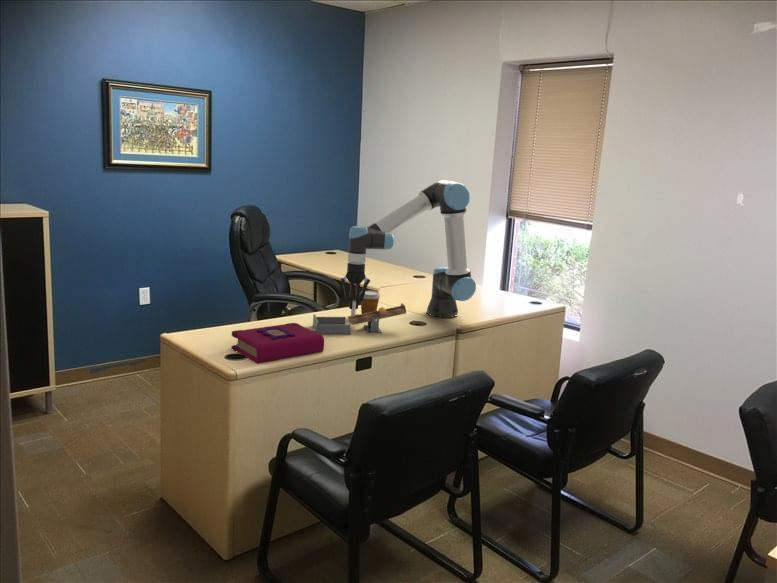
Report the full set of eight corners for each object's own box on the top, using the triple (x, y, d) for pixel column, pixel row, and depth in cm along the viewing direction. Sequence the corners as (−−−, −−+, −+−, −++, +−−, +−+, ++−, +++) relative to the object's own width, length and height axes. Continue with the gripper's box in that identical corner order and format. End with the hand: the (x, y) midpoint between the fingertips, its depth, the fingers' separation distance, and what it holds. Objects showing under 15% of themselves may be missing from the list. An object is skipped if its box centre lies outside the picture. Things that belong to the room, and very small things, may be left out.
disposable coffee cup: (379, 316, 302) (381, 291, 300) (377, 321, 293) (379, 295, 290) (359, 314, 303) (361, 289, 300) (356, 319, 294) (358, 294, 291)
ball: (378, 314, 279) (385, 312, 280) (379, 316, 276) (387, 314, 277) (377, 307, 278) (384, 305, 279) (378, 309, 275) (385, 307, 276)
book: (324, 353, 244) (324, 334, 242) (257, 365, 226) (258, 344, 224) (294, 339, 259) (294, 321, 258) (229, 349, 241) (230, 329, 240)
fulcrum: (376, 326, 284) (377, 311, 283) (382, 333, 274) (383, 318, 273) (363, 326, 283) (364, 311, 282) (368, 333, 273) (369, 318, 271)
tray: (345, 325, 282) (345, 314, 281) (350, 334, 270) (350, 322, 268) (312, 325, 279) (313, 314, 278) (316, 334, 266) (316, 322, 265)
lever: (400, 307, 288) (399, 299, 287) (406, 313, 278) (405, 305, 277) (347, 318, 284) (346, 311, 283) (351, 325, 273) (350, 317, 272)
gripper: (369, 261, 281) (366, 314, 286) (340, 260, 278) (336, 313, 283) (373, 264, 274) (369, 318, 279) (342, 263, 271) (339, 318, 276)
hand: (352, 316), depth 281 cm, fingers closed
